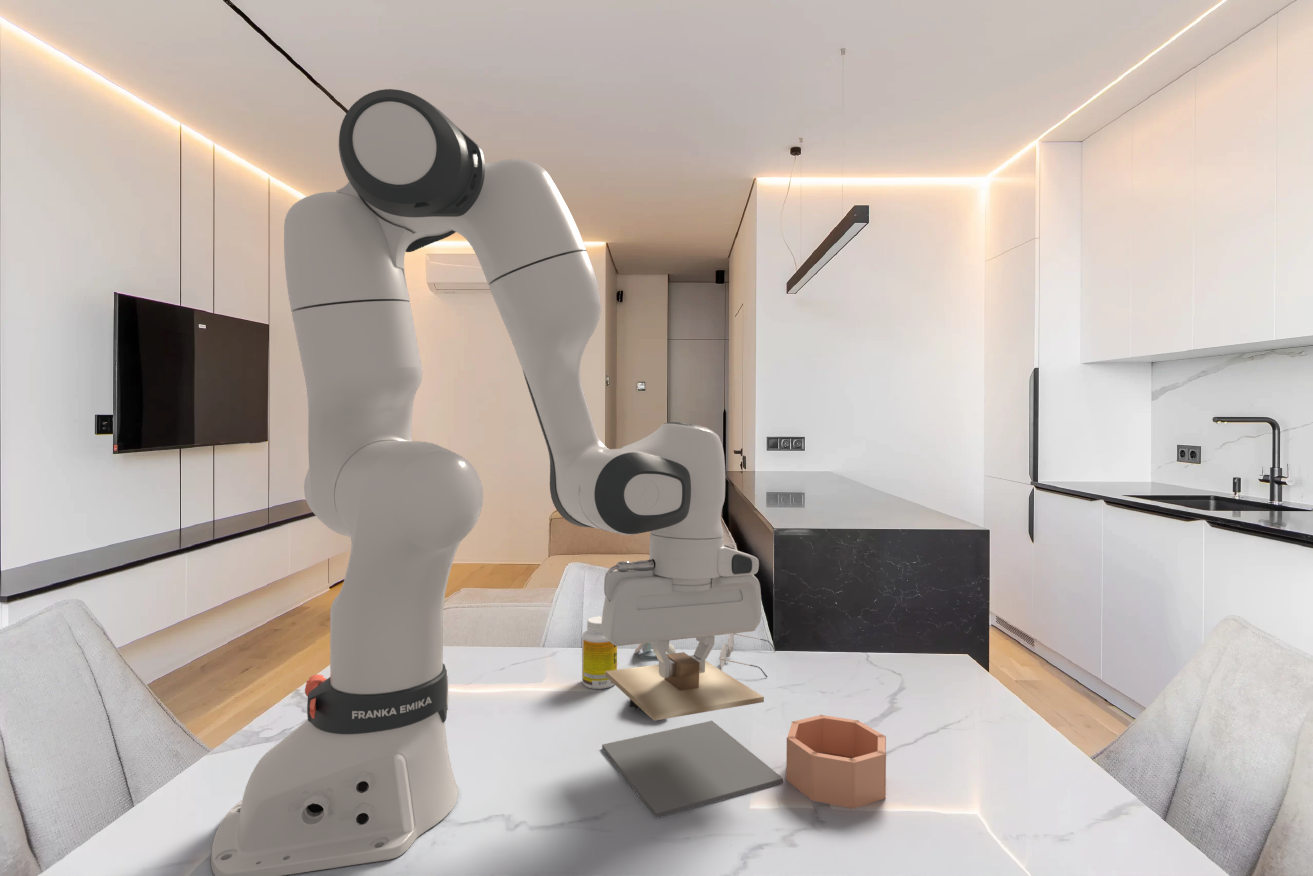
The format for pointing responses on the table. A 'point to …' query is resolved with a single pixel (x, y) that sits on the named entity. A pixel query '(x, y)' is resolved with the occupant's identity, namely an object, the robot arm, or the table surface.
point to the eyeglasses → (730, 650)
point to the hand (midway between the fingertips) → (681, 674)
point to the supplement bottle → (597, 656)
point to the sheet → (682, 689)
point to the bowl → (837, 761)
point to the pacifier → (648, 647)
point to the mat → (688, 767)
